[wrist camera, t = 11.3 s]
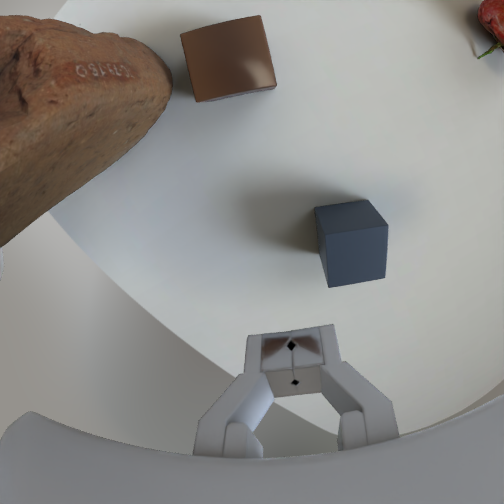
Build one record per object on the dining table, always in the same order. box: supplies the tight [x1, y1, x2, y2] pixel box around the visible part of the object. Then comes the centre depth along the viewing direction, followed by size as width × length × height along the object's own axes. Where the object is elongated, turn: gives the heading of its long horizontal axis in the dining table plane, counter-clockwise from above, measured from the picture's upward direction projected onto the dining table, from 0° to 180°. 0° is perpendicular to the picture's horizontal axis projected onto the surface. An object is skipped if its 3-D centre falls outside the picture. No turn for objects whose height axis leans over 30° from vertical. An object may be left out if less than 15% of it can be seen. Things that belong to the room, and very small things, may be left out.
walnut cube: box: [180, 15, 277, 103], centre depth 13 cm, size 4×4×4 cm
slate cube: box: [315, 200, 388, 288], centre depth 19 cm, size 4×4×4 cm
